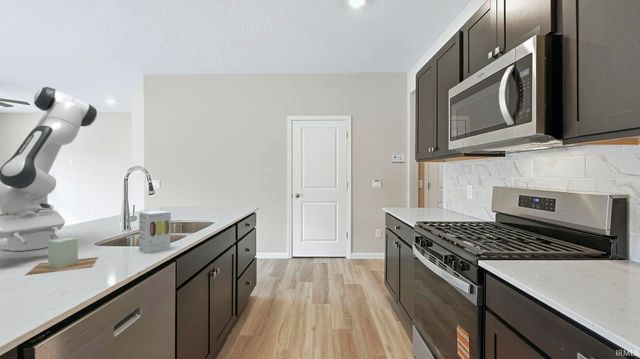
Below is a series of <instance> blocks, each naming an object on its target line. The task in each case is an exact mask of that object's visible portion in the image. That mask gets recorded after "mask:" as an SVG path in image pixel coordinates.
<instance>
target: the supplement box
mask: <svg viewBox="0 0 640 359" xmlns="http://www.w3.org/2000/svg"><path fill="white" fill-rule="evenodd" d="M138 215H139V217H138V218H139V219H138V220H139V221H138V222H139V223H138V224H139V225H138V226H139V230H138V234H139V235H138V238H139V240H138V242H139V244H138V251H139V252H142V253H145V254H147V255H149V254H155V253H160V252H165V251H170V250H171V229H172V228H171V227H172V226H171V224H172V223H171V211H166V210H149V211H140V212H139V214H138Z"/></svg>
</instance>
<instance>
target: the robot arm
mask: <svg viewBox="0 0 640 359" xmlns="http://www.w3.org/2000/svg"><path fill="white" fill-rule="evenodd" d="M33 104H34V106H35V107H36V108H37V109H39V110H41V111H43V112H45V113H44V114H43V115H42V117H41V118H40V120H39V121H38V122H37V124H36V126H35V127H34V128H33V129H32V130H31V131H30V132H29V134H28V135H27V136H26V138H25V139H24V140H23V141H22V143H21V144H20V146H19V147H18V148H17V149H16V151H15V153H14V154H13V155H12V156H11V157H10V159H8V160H7V161H6V162H5V163H4V164H3V165H2V166H1V167H0V211H1V213H0V239H1V240H3V239H6V245H5V246H2V247H1V251H9V252H10V251H11V252H19V251H20V252H23V251H32V250H38V249H39V250H40V249H44V248H48V241H51V240H57V239H60V238H59V235H58V231H59V230H61V229H62V228H63V227H64V226H65V224H66V221H65V219H64V217H63V216H62V215H61V214H60V213H59V211H57V210H55V209H54V205H53V204H51V203H48V195H49V194H51V193H52V192H54V190H55V188H56V185H57V181H56V179H55V177H54V176H53V175H51V174H50V170H52V169H51V168H52V167H53V164H54V162H55V160H56V158H57V156H58V154H59V152H60V150H61V148H62V146H63V145H69V144H71V143H73V141H75V139H76V137H77V136H78V133H79V131H80V129H81V127H89V126H91V125H92V124H93V123H95V121H96V120H97V117H98V111H97V109H96V107H94V106H93V105H91V104H88V103H87V102H84V101H83V100H82V99H79V98H77V97H75V96H72V95H70V94H67V93H66V92H65V93H64V92H62V91H59V90H56V89H55V88H52V87H48V86H44V87H42V88H41V89H38V90H37V91H36V92H35V94H34V96H33Z"/></svg>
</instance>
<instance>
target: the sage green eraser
mask: <svg viewBox="0 0 640 359" xmlns="http://www.w3.org/2000/svg"><path fill="white" fill-rule="evenodd" d="M78 244H79V242H78V238H77V237H63V238H59V239H57V240H51V241H48V247H47V248H48V250H47V251H48V254H47V256H48V257H47V258H48V262H49V267H50V268H56V269H60V268H64V267H67V266H71V265H75V264H78V259H79V256H78V255H79V253H78V250H79V249H78V248H79V247H78ZM48 262H47V263H48Z"/></svg>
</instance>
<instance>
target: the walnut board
mask: <svg viewBox="0 0 640 359" xmlns="http://www.w3.org/2000/svg"><path fill="white" fill-rule="evenodd" d="M98 259H99V257H98V256H96V257H87V258H78V264H75V265H71V266H67V267H64V268H60V269H56V268H50V267H49V262H41V263H38V264H37V265H35V266H34V267H33V268H31V269H30V270H29V271H28V272H26V274H25V276H29V275H30V276H33V275H39V274H47V273H55V272H65V271H71V270H72V271H74V270H81V269H88V268H93V266H94V264H95V263H96V262H97V260H98Z"/></svg>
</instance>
